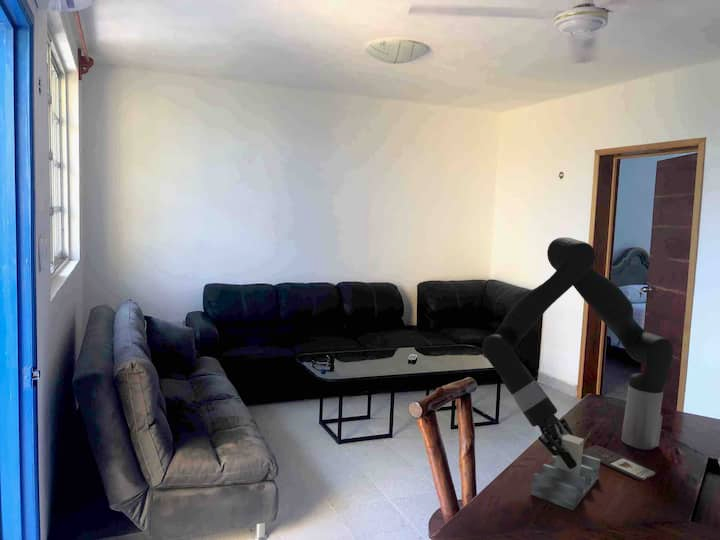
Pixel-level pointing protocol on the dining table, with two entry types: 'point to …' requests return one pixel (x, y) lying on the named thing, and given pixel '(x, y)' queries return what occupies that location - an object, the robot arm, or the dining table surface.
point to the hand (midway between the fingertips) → (576, 463)
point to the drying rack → (565, 482)
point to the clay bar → (575, 449)
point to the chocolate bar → (620, 463)
